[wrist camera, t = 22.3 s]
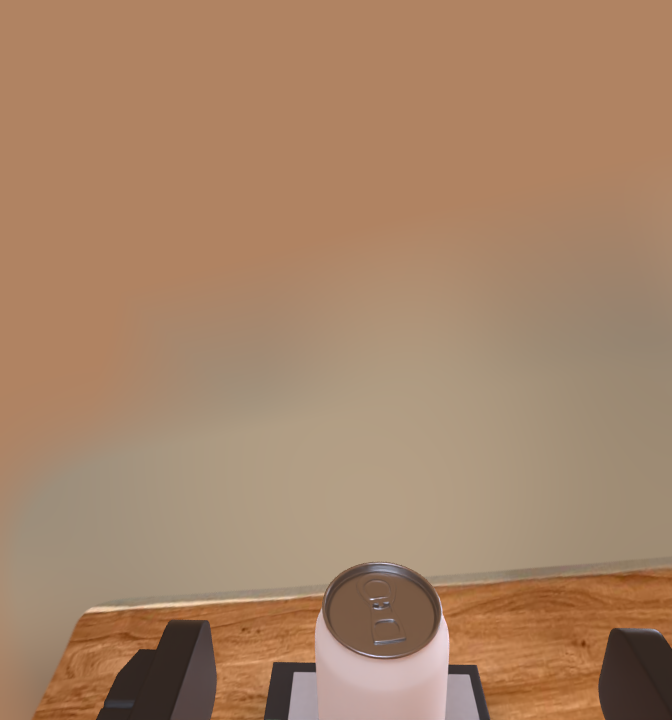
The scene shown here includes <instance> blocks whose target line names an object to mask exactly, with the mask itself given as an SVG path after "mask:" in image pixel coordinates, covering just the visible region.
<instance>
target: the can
mask: <svg viewBox="0 0 672 720" xmlns="http://www.w3.org/2000/svg"><path fill="white" fill-rule="evenodd" d="M315 655H316V676H317V696H318V714H319V720H445V710H446V695H447V679H448V663H449V633H448V628H447V624H446V621H445V619H444V616H443V614H442V606H441V602H440V599H439V596H438V594H437V592H436V591H435V589H434V588H433V586H432V585H431V584H430V583H429V582H428V581H427V580H426V579H425V578H424V577H423V576H421V575H420V574H418V573H417V572H415V571H413V570H411V569H409V568H407V567H404V566H402V565H398V564H393V563H388V562H369V563H363V564H359V565H356V566H354V567H351V568H349V569H347V570H345V571H343V572H342V573H340V574H339V575H338V576H337V577H336V578H335V579H334V580H333V581H332V582H331V583H330V585H329V586H328V588H327V589H326V592H325V594H324V597H323V602H322V608H321V611H320V613H319V615H318V618H317V622H316V629H315Z"/></svg>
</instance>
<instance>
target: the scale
mask: <svg viewBox="0 0 672 720" xmlns="http://www.w3.org/2000/svg"><path fill="white" fill-rule="evenodd" d="M264 720H319V714H318V696H317V676H316V663H294V662H274V663H273V668H272V674H271V680H270V686H269V692H268V698H267V704H266V710H265V715H264ZM445 720H490V717H489V713H488V709H487V705H486V701H485V697H484V693H483V689H482V685H481V681H480V677H479V673H478V669H477V665H448V679H447V695H446V710H445Z"/></svg>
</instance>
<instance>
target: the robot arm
mask: <svg viewBox="0 0 672 720" xmlns="http://www.w3.org/2000/svg"><path fill="white" fill-rule="evenodd" d="M216 683H217V675H216V666H215V659H214V651H213V644H212V637H211V630H210V624H209V622H208V621H207V620H171V621H169V623H168V624H167V626H166V628H165V630H164V632H163V635H162V637H161V640H160V642H159V644H158V647H157V649H156V650H149V649H140V650H139V651H138V652H137V653H136V654H135V655H134V656H133V657H132V658H131V660H130V661H129V662H128V663H127V664H126V665H125V666H124V667H123V668H122V670H121V671H120V672H119V673H118V674H117V676H116V679H115V681H114V683H113V685H112V687H111V689H110V691H109V693H108V695H107V698H106V700H105V702H104V707H103V708H101V710H100V712H99V715H98V717H97V719H96V720H210V718H211V714H212V710H213V706H214V701H215V694H216ZM598 689H599V699H600V704H601V708H602V711H603V714H604V717H605V720H672V648H671V647H670V645H669V644H668V643H667V641H666V640H665V638H664V637H663V635H662V634H661V633H660V632H658V631H657V630H655V629H635V628H614V629H612V630H611V632H610V635H609V639H608V643H607V648H606V652H605V656H604V661H603V665H602V669H601V674H600V678H599V685H598Z"/></svg>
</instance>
